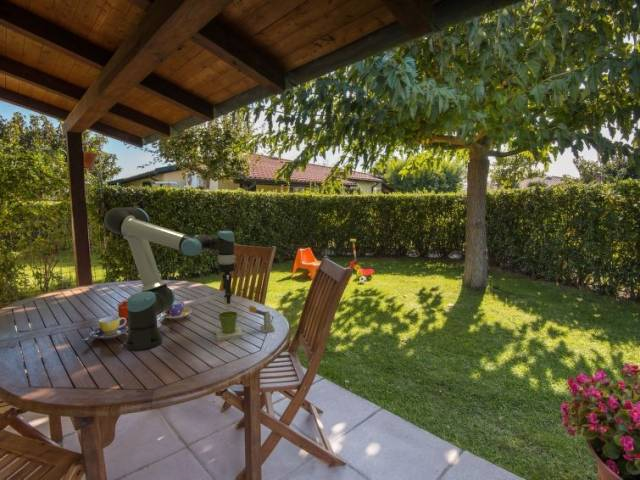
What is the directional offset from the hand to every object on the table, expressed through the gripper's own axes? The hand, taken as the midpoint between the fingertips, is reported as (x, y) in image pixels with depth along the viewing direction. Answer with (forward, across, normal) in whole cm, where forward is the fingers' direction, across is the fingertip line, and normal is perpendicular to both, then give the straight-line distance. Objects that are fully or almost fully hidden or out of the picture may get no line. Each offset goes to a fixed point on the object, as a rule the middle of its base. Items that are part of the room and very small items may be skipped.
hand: (227, 305), depth 168 cm
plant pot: (+13, +1, 0) cm, 13 cm away
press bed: (+15, 0, -1) cm, 15 cm away
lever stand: (+14, 0, -20) cm, 24 cm away
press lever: (+6, 0, -15) cm, 16 cm away
